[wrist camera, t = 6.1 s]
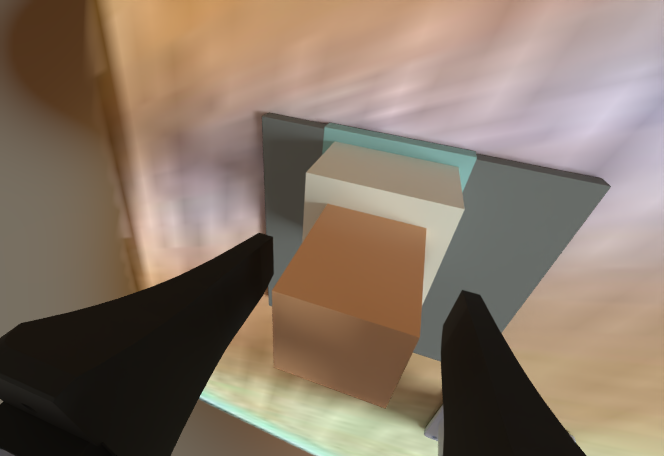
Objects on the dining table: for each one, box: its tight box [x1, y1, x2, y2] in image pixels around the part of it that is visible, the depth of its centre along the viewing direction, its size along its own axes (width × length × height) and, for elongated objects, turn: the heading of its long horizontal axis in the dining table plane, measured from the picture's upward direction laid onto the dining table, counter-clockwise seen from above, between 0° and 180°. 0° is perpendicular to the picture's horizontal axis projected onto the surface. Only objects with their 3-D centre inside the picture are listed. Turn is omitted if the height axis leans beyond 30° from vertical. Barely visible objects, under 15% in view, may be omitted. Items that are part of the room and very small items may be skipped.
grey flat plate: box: [262, 113, 611, 361], centre depth 18 cm, size 16×15×1 cm
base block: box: [302, 141, 465, 305], centre depth 14 cm, size 6×6×4 cm
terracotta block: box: [272, 204, 427, 409], centre depth 11 cm, size 4×4×5 cm
